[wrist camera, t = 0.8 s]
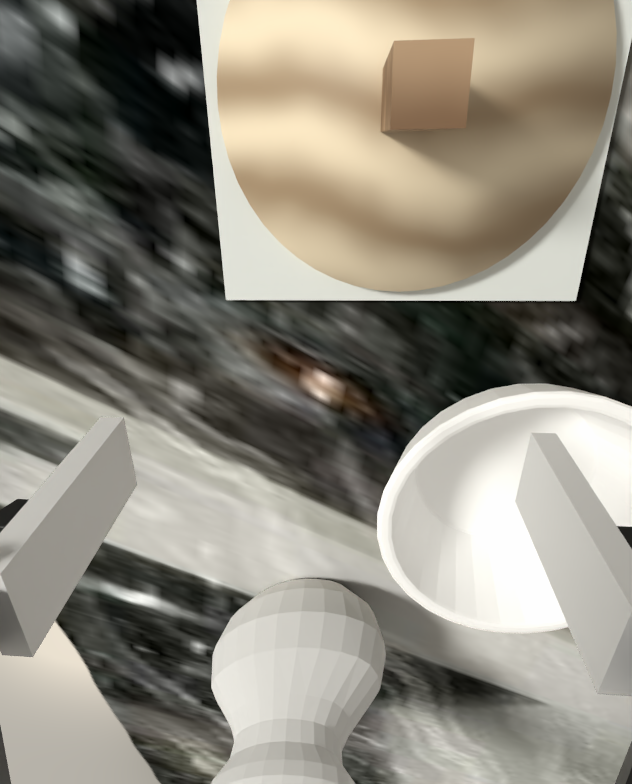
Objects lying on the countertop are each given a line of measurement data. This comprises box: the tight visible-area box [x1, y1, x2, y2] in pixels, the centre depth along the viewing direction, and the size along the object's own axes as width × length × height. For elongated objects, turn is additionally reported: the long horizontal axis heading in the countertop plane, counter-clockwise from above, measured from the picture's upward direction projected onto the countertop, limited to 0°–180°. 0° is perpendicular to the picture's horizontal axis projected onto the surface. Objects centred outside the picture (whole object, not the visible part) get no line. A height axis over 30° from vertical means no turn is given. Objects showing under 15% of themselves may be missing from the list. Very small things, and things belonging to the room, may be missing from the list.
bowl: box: [377, 384, 632, 633], centre depth 41 cm, size 22×22×8 cm
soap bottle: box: [211, 579, 386, 784], centre depth 41 cm, size 17×12×29 cm
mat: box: [197, 0, 632, 301], centre depth 33 cm, size 26×26×1 cm
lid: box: [217, 0, 617, 292], centre depth 28 cm, size 24×24×11 cm
